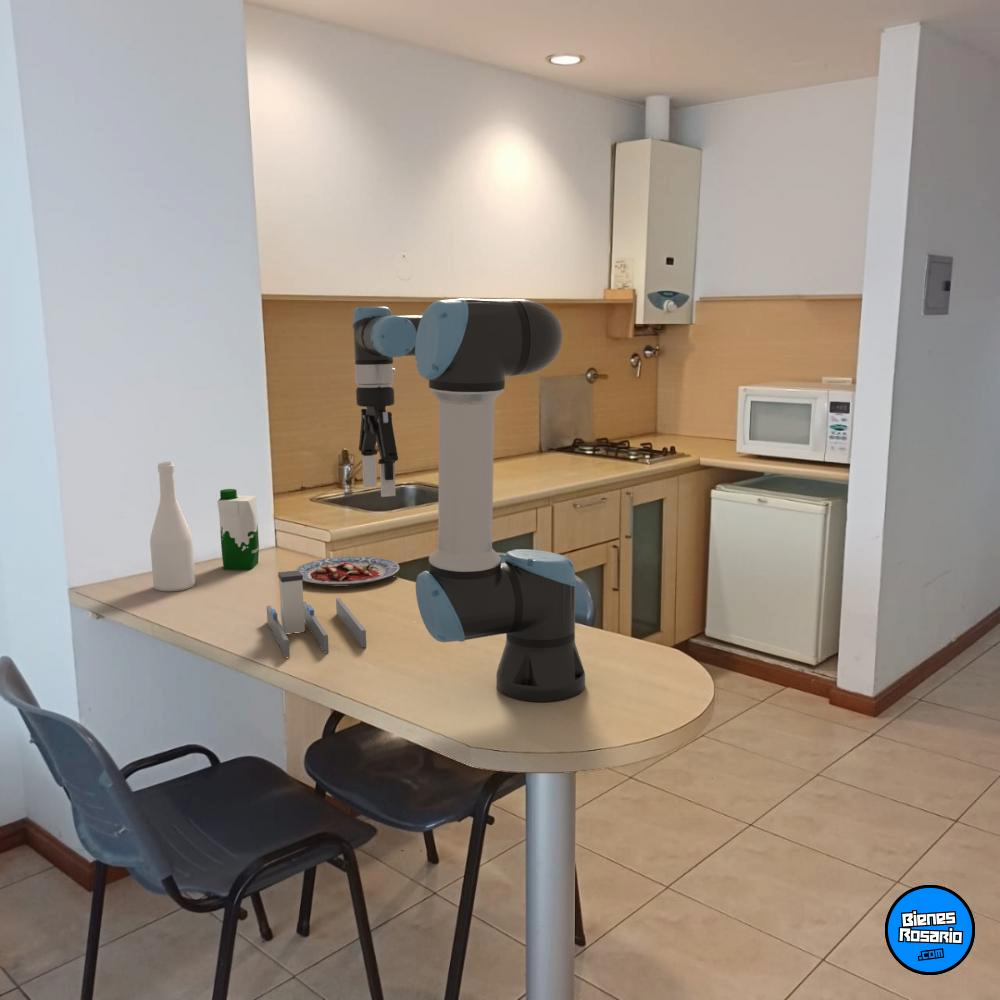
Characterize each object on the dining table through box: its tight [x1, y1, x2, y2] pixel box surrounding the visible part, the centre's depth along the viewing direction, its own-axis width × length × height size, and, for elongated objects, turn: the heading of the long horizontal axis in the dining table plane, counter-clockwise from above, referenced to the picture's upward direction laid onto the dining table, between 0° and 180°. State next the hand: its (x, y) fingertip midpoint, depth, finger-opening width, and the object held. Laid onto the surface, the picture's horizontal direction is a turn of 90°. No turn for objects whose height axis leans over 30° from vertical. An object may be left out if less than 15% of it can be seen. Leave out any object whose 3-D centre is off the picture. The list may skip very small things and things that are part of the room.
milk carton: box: [217, 488, 260, 571], centre depth 247 cm, size 9×9×20 cm
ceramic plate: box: [293, 556, 400, 586], centre depth 238 cm, size 26×26×3 cm
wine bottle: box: [149, 461, 196, 592], centre depth 227 cm, size 10×10×30 cm
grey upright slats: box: [266, 597, 367, 658], centre depth 193 cm, size 24×15×4 cm, turn 21°
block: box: [277, 570, 306, 634], centre depth 195 cm, size 4×4×12 cm
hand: (378, 491), depth 196 cm, fingers open, 13 cm apart
